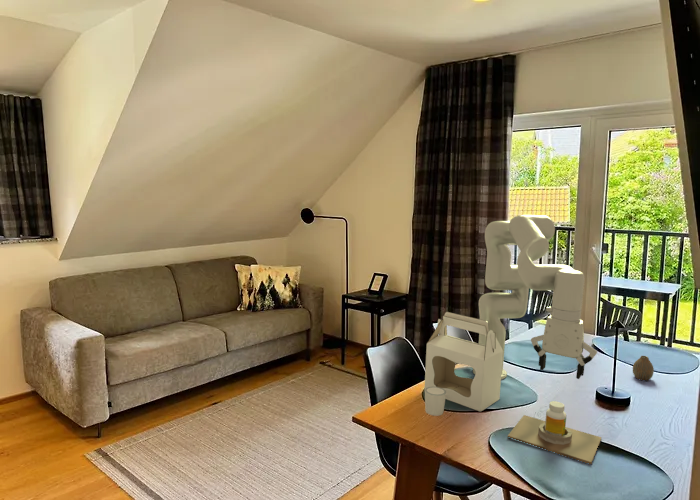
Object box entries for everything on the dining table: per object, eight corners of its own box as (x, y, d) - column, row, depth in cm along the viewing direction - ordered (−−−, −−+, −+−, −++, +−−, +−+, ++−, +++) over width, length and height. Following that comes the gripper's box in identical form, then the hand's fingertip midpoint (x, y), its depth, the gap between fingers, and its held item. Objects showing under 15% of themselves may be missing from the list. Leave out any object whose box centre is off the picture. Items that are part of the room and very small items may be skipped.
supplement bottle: (566, 442, 140) (569, 409, 138) (546, 439, 141) (548, 407, 139) (562, 432, 145) (565, 401, 144) (542, 430, 146) (545, 399, 145)
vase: (633, 380, 188) (635, 358, 187) (630, 374, 194) (632, 352, 193) (654, 383, 185) (656, 361, 184) (650, 377, 192) (653, 355, 190)
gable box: (423, 391, 173) (427, 313, 169) (443, 380, 183) (448, 306, 179) (481, 412, 158) (487, 327, 154) (500, 399, 168) (506, 319, 164)
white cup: (432, 418, 153) (433, 396, 152) (419, 409, 159) (420, 388, 158) (449, 414, 156) (451, 393, 155) (436, 405, 162) (437, 384, 161)
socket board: (507, 438, 143) (508, 429, 142) (523, 417, 156) (524, 408, 155) (591, 465, 130) (592, 455, 130) (601, 439, 143) (602, 430, 143)
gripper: (530, 311, 139) (525, 369, 142) (597, 323, 130) (591, 385, 132) (537, 306, 145) (532, 361, 148) (602, 317, 136) (596, 376, 138)
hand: (560, 372), depth 140 cm, fingers open, 9 cm apart
